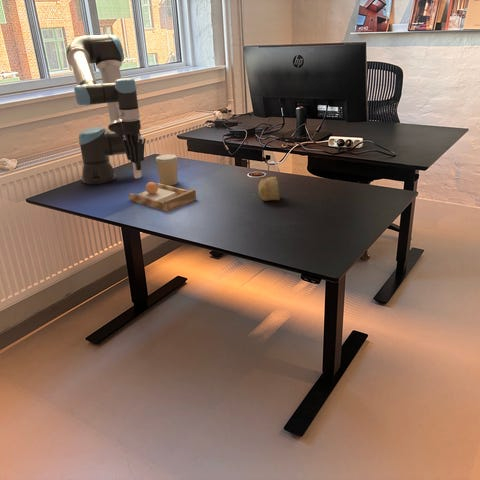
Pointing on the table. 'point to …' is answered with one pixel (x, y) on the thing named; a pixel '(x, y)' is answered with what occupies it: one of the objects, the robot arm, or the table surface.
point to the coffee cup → (167, 169)
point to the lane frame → (168, 204)
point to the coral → (269, 189)
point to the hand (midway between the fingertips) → (138, 177)
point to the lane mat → (159, 194)
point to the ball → (151, 188)
